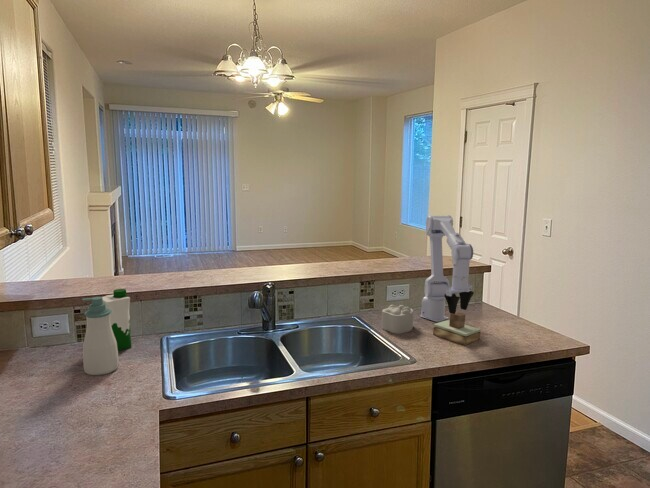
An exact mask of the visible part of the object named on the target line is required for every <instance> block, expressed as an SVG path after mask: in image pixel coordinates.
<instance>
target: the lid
mask: <svg viewBox="0 0 650 488" xmlns="http://www.w3.org/2000/svg"><path fill="white" fill-rule="evenodd" d="M449 323H450V319H446V320H443V321H440V322H436V323H433V327H438V328H441V329H444V330H447V331H450V332H454V333H457V334H460V335H463V336H469V335H471V334H474V333H477V332H480V333H481V328H477V327H474V326H471V325H469V324H465V325H464V327H463V328H460V329H457V328H454V327H451V326H449Z"/></svg>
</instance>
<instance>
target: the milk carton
mask: <svg viewBox="0 0 650 488" xmlns="http://www.w3.org/2000/svg"><path fill="white" fill-rule="evenodd" d="M112 293H113V294H108V295H105V296H101V297H102V298H103V303H105V304H106V308H108V309H110V310H111V313H110V322H111V327H112V330H113V333H114V336H115V339H116V342H117V348H118V352H119V351H123V350H127V349H131V348H132V335H131V333H132V332H131V320H130V319H131V317H130V316H131V315H130V306H131V297H130V296H128V295H127V289H126V288H125V289H124V288H117V289H114V290H113V291H112Z"/></svg>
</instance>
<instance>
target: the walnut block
mask: <svg viewBox="0 0 650 488" xmlns="http://www.w3.org/2000/svg"><path fill="white" fill-rule="evenodd" d="M449 314H450V315H449V320H450V323H449V326H451V327H454V328H457V329H460V328H463V327H464V325H466V324H465V323H466V313H464V312H463V313H462V312H459V311H456V312H455V314H452V313H449Z"/></svg>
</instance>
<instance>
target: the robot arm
mask: <svg viewBox="0 0 650 488" xmlns="http://www.w3.org/2000/svg"><path fill="white" fill-rule="evenodd" d="M453 226H454V220H453V217H452V216H451V215H432V214H431V215H430V214H429V215H428V216H427V218H426V221H425V233H426V235H427V236H428V237H429V242H430V243H429V245H430V246H429V247H430V248H429V249H430V250H429V251H430V269H431V271H430V272H431V273H430V274H431V275H430V276H429V277H427V278H426V279H425V280H424V281H425V282H424V287H423V291H424V292H423V293H424V297H422V300H421V306H420V307H421V309H420V315H419V317H420V318H424V319H427V320H430V321H432V322H436V323H439V322H442V321H446V320H449V317H448V316H445V315H446V314H445V312H446V303H447V306H448V307H447V308H448V311H449V314H450V313H452V314H455V312H457V306H458V303H459V300H460V303H459V305H460V309H461V310H464V311H467V309H468V306H469V303H470V302H471V299H472V297H473V296H474V291H473V285H472V284H469V276H470V263H471V262H470V261H471V260H472V259H473V257H474V247H473V246H472V244H471V243H470V244H469V243H466V241H465V240H464V238H463V237H462V235H461V234H460V233H459V232H456V231H455V229H454V227H453ZM445 236H446V243H447V244H448V247H449V248H450V250H451V259H452V260H451V261H452V279H451V284H450V280H449V279H448V278H447V277H446V276H445V275H444V266H443V265H444V262H443V261H444V260H443V238H444V237H445ZM457 294H458V295H459V296H457Z"/></svg>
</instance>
